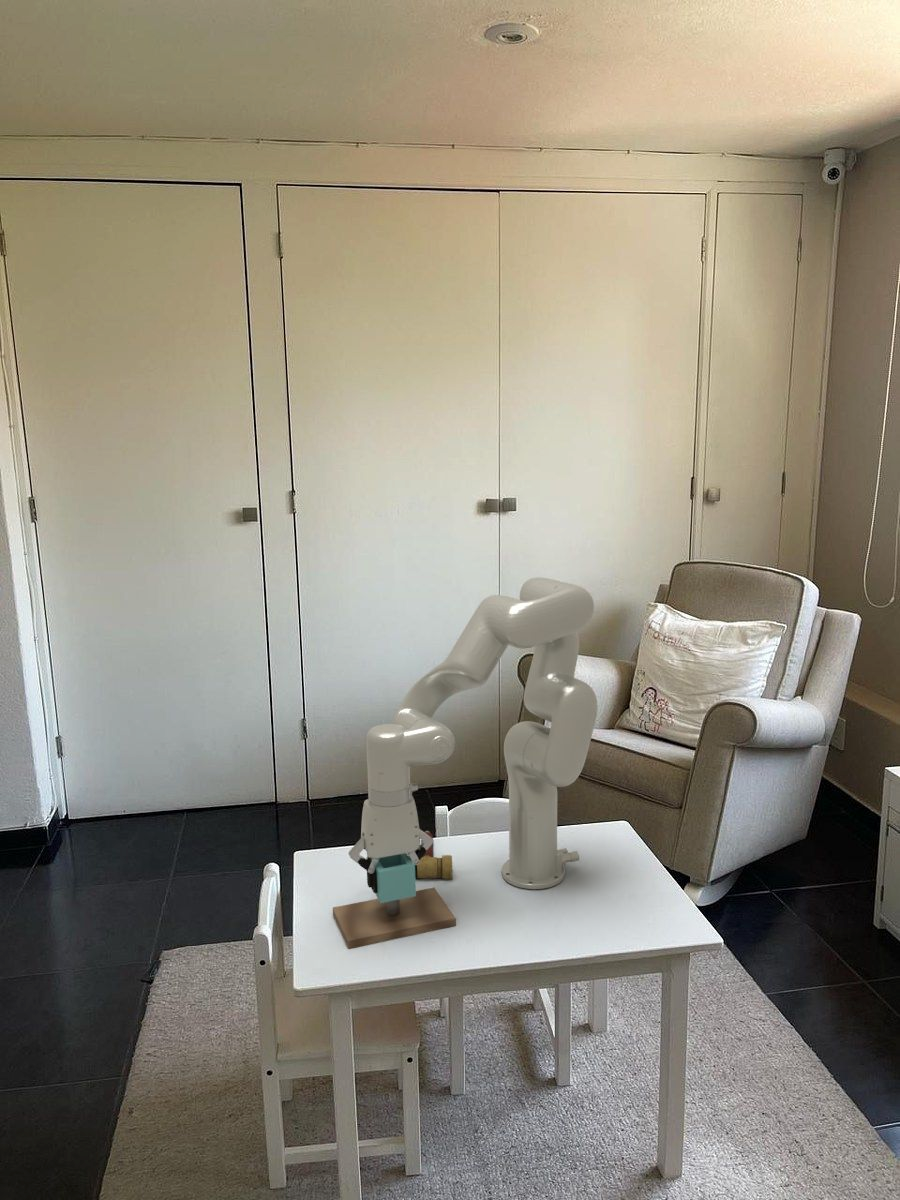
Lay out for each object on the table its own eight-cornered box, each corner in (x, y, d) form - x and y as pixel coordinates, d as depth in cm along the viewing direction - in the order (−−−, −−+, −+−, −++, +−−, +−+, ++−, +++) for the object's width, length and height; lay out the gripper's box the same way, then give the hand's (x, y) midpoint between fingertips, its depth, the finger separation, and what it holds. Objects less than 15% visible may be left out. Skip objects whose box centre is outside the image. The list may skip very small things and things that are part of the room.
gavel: (404, 822, 204) (449, 821, 204) (404, 842, 205) (449, 841, 205) (401, 862, 183) (452, 860, 184) (402, 884, 184) (452, 882, 184)
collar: (404, 879, 173) (403, 849, 172) (415, 896, 167) (414, 865, 166) (370, 886, 171) (369, 856, 170) (380, 903, 165) (379, 872, 164)
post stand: (434, 894, 179) (433, 853, 178) (455, 925, 168) (455, 882, 166) (332, 914, 173) (330, 872, 171) (348, 948, 162) (346, 904, 160)
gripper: (428, 779, 172) (430, 868, 175) (337, 793, 166) (341, 885, 170) (442, 794, 165) (444, 886, 168) (347, 809, 159) (351, 905, 163)
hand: (392, 885), depth 169 cm, fingers closed on collar, 6 cm apart
